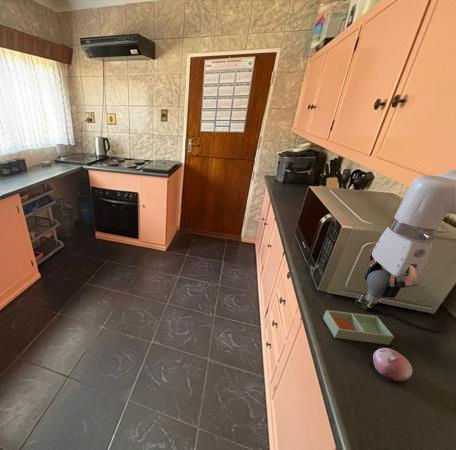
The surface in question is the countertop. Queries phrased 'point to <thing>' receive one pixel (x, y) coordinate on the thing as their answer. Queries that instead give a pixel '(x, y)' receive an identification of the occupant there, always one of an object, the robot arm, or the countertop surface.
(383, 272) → the light bulb
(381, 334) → the tray
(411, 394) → the countertop surface
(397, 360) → the onion
